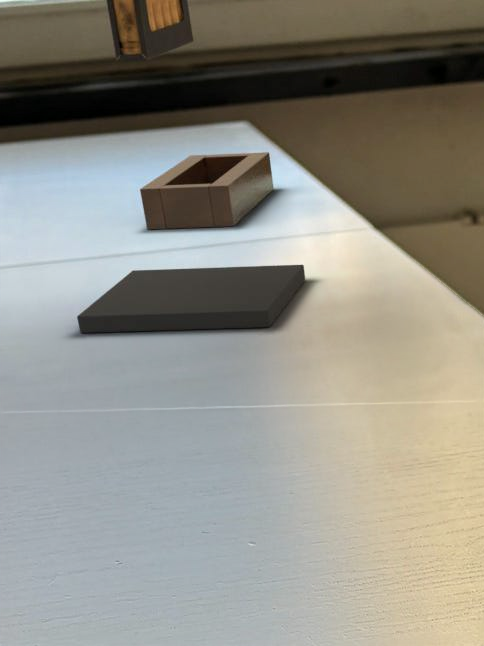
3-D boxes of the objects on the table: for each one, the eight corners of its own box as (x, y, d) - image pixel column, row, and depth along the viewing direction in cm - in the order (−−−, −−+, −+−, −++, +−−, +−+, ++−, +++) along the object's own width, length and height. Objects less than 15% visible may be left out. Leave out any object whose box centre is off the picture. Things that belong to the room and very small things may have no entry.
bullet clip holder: (147, 229, 109) (139, 189, 107) (195, 192, 122) (190, 155, 120) (234, 226, 109) (228, 185, 107) (273, 189, 121) (269, 152, 120)
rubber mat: (80, 333, 84) (76, 316, 83) (135, 285, 93) (132, 270, 93) (269, 327, 83) (267, 310, 82) (305, 279, 92) (303, 264, 92)
